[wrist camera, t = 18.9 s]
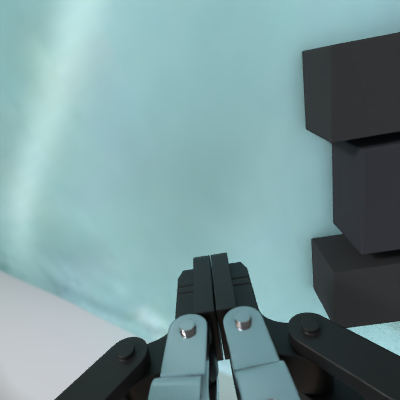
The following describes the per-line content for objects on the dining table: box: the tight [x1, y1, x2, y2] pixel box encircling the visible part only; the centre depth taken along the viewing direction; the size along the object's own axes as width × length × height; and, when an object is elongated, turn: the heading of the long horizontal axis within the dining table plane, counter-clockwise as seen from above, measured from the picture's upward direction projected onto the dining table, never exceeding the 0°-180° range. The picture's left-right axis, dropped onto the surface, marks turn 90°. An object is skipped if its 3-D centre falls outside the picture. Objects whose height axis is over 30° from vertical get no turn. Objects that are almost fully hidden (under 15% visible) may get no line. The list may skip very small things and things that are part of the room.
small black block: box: [332, 131, 400, 255], centre depth 18 cm, size 6×6×4 cm
